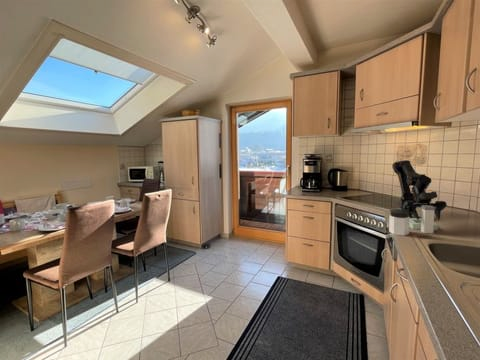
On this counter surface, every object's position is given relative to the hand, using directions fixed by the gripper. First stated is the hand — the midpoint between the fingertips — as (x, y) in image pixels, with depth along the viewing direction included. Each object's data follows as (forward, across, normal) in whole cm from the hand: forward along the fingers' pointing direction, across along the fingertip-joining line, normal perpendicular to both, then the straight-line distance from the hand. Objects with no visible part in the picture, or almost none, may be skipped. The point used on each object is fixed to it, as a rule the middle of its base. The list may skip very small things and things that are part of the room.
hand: (428, 219), depth 126 cm
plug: (+4, 0, +6) cm, 7 cm away
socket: (-2, 0, +12) cm, 13 cm away
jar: (+6, -14, +4) cm, 16 cm away
